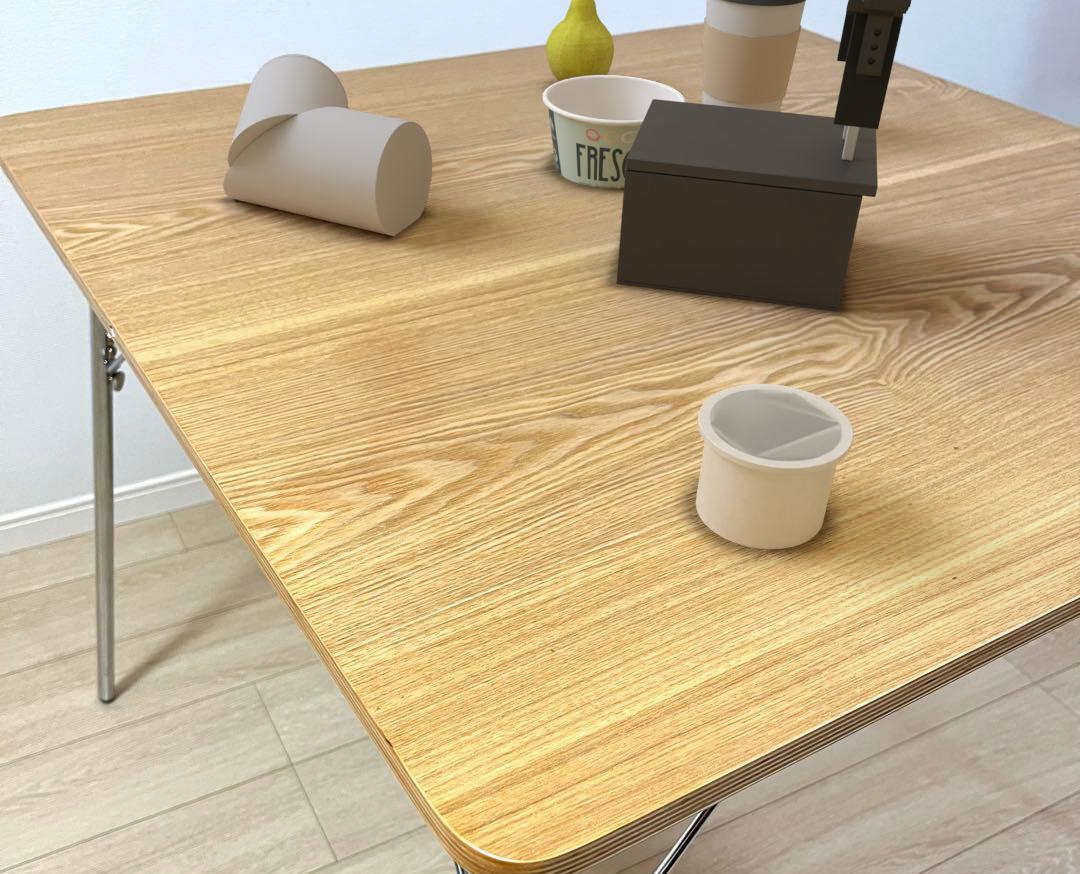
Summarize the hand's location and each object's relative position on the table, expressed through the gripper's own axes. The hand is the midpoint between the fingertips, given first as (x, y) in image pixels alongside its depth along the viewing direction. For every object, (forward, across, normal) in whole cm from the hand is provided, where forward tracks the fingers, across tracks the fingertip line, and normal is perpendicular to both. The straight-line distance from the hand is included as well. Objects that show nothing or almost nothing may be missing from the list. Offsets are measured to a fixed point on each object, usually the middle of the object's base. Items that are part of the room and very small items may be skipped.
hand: (855, 91), depth 76 cm
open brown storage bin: (+14, 0, -6) cm, 15 cm away
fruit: (+14, -38, -25) cm, 47 cm away
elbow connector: (+14, -4, -40) cm, 43 cm away
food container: (+14, -16, -18) cm, 28 cm away
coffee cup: (+14, -28, -8) cm, 33 cm away
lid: (+5, 0, -6) cm, 8 cm away
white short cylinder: (+13, +30, -2) cm, 33 cm away
